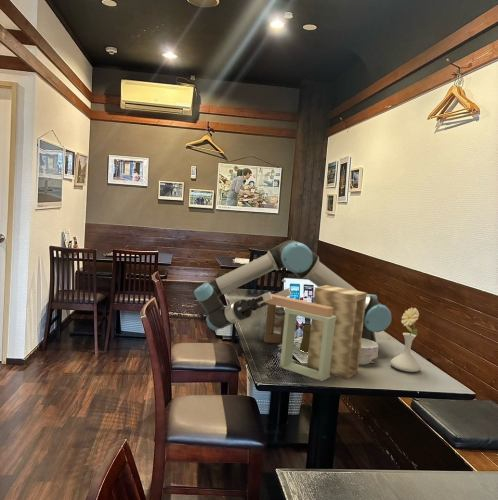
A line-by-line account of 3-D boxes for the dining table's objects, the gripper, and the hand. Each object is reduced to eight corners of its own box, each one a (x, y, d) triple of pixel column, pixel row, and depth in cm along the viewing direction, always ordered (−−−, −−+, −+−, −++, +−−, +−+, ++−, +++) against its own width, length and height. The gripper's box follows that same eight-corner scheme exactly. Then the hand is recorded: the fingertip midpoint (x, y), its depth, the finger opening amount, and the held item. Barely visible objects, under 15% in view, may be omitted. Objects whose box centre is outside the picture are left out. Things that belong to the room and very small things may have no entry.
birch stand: (306, 366, 168) (314, 287, 165) (318, 360, 176) (327, 285, 173) (346, 379, 159) (356, 295, 156) (357, 372, 167) (366, 292, 164)
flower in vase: (387, 362, 181) (394, 301, 179) (416, 365, 180) (423, 304, 178) (394, 374, 168) (402, 308, 166) (425, 377, 167) (434, 312, 165)
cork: (310, 354, 183) (313, 327, 182) (296, 350, 186) (299, 324, 185) (316, 351, 188) (319, 325, 187) (303, 347, 191) (305, 322, 190)
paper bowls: (348, 352, 191) (350, 333, 190) (382, 362, 181) (385, 343, 180) (330, 359, 179) (333, 340, 178) (366, 370, 169) (368, 350, 169)
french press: (280, 327, 220) (285, 277, 218) (295, 334, 211) (301, 281, 208) (264, 328, 215) (269, 277, 213) (279, 335, 205) (284, 282, 203)
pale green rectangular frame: (279, 367, 165) (285, 308, 163) (287, 363, 170) (293, 306, 168) (322, 381, 155) (329, 318, 153) (329, 376, 160) (336, 316, 157)
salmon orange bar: (264, 302, 169) (265, 294, 169) (270, 301, 172) (271, 293, 172) (327, 317, 154) (328, 308, 154) (332, 315, 157) (333, 307, 157)
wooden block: (289, 344, 194) (293, 303, 192) (264, 342, 193) (268, 301, 191) (287, 341, 197) (291, 301, 196) (263, 340, 196) (267, 299, 195)
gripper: (259, 315, 188) (300, 298, 177) (221, 325, 168) (265, 307, 156) (253, 298, 190) (293, 281, 178) (215, 306, 169) (258, 286, 158)
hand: (280, 293), depth 167 cm, fingers open, 13 cm apart
